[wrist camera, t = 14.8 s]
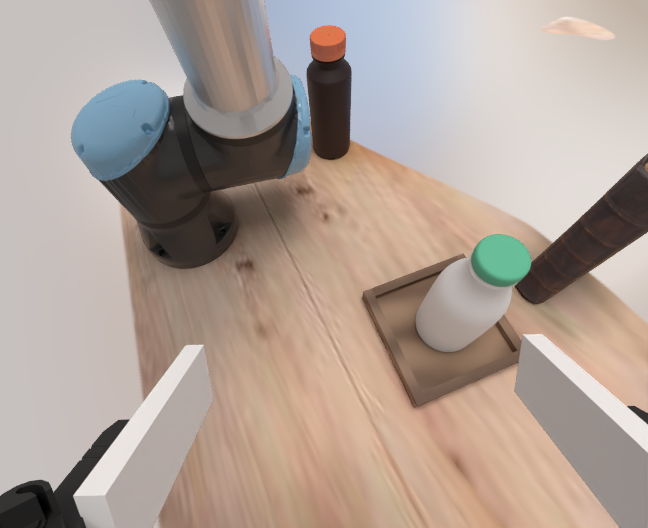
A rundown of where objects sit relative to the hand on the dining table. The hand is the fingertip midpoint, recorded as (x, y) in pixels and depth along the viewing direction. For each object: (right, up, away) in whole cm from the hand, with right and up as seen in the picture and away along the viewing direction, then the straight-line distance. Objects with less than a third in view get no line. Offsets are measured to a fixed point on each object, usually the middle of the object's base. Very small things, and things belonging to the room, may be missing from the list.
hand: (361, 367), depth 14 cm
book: (+33, +4, +37) cm, 50 cm away
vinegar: (0, +26, +50) cm, 57 cm away
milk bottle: (+15, -4, +33) cm, 36 cm away
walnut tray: (+14, -5, +34) cm, 37 cm away
